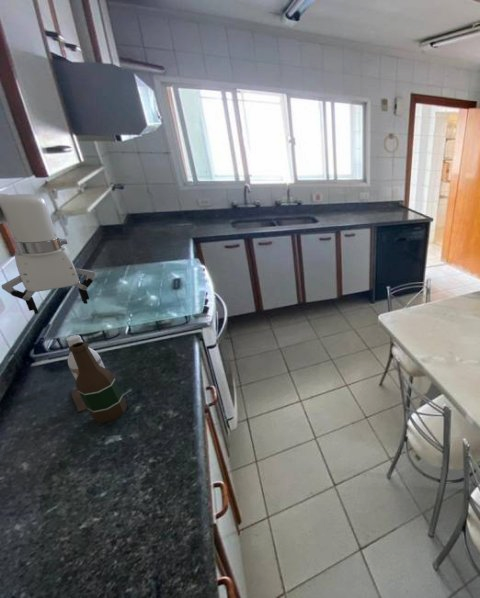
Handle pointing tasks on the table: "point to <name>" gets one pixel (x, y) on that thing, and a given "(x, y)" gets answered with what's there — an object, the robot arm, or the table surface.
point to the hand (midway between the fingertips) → (61, 306)
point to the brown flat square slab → (79, 400)
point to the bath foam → (71, 360)
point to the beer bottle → (97, 386)
